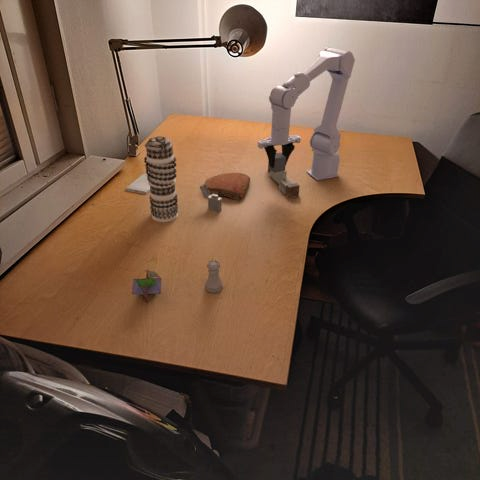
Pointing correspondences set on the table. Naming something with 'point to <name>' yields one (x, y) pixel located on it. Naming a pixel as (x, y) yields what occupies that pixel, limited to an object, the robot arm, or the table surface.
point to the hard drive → (140, 185)
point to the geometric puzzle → (147, 285)
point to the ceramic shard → (228, 185)
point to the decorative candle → (161, 179)
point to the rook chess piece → (213, 277)
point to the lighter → (211, 199)
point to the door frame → (288, 187)
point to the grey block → (279, 163)
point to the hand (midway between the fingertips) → (277, 165)
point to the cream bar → (278, 175)
